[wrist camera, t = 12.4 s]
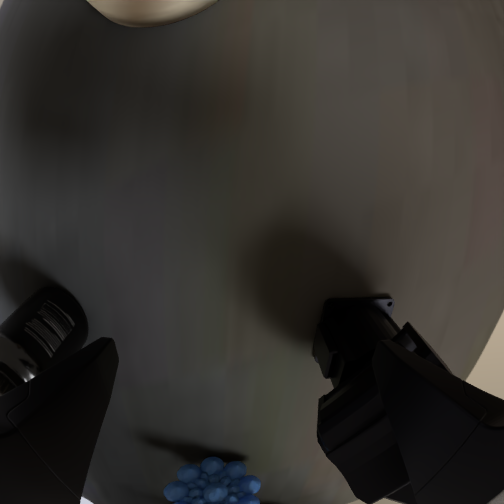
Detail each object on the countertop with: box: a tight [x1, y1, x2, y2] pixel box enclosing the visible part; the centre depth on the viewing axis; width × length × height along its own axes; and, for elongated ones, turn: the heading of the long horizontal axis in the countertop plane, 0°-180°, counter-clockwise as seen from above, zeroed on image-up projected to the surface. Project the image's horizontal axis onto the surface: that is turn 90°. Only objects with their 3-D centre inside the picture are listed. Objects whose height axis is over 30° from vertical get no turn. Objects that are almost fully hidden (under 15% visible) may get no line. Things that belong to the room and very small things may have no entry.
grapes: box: [164, 457, 261, 504], centre depth 25 cm, size 12×7×12 cm, turn 76°
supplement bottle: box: [0, 287, 88, 396], centre depth 17 cm, size 7×7×12 cm
